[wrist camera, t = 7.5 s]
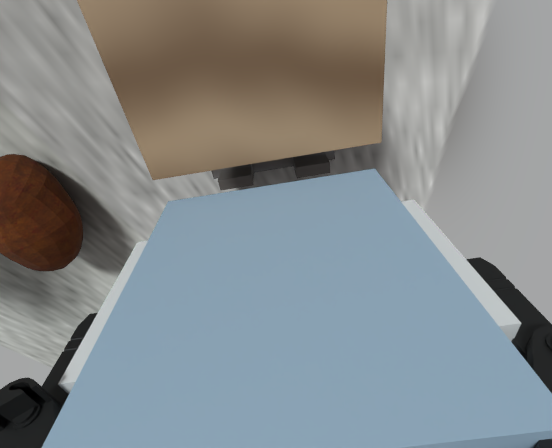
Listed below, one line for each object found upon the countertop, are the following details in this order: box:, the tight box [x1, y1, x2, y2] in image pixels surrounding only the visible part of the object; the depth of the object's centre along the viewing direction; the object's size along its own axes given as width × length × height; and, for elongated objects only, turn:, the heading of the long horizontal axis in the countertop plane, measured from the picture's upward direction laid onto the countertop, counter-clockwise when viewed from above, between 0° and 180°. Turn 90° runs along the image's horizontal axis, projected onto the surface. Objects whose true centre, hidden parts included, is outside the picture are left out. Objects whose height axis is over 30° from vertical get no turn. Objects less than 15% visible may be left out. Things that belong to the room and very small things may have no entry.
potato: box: [0, 154, 83, 271], centre depth 28 cm, size 8×12×8 cm, turn 14°
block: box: [42, 169, 552, 448], centre depth 12 cm, size 4×11×12 cm, turn 99°
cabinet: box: [77, 0, 387, 190], centre depth 21 cm, size 14×12×14 cm
